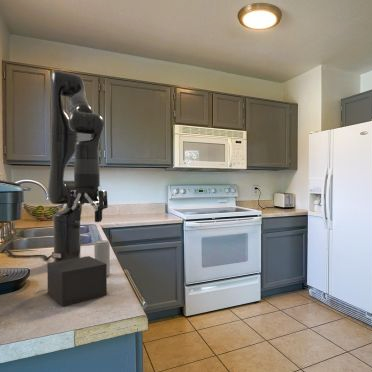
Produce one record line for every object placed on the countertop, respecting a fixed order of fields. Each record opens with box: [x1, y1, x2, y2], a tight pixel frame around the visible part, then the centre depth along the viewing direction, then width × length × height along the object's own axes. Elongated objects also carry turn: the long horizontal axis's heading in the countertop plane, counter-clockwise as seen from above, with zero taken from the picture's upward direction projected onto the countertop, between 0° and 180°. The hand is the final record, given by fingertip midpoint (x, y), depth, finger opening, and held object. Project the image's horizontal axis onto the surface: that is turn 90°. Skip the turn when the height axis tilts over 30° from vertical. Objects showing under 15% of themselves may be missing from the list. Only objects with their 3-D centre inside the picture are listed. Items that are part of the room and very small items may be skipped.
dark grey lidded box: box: [46, 255, 108, 307], centre depth 92 cm, size 14×12×9 cm
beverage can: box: [93, 239, 111, 277], centre depth 110 cm, size 5×5×12 cm
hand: (87, 221), depth 105 cm, fingers open, 8 cm apart
